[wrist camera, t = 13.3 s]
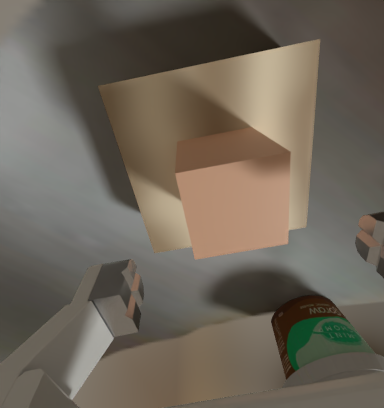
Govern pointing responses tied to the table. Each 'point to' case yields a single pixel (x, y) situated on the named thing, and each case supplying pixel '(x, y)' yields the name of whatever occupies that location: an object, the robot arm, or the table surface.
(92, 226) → the table surface
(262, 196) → the terracotta block
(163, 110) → the birch plinth
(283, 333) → the food container
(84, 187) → the table surface
